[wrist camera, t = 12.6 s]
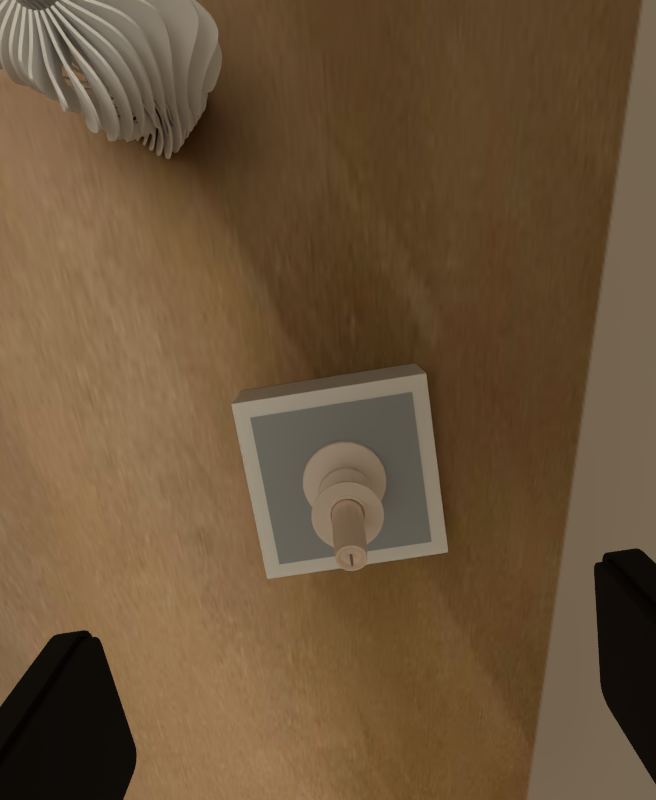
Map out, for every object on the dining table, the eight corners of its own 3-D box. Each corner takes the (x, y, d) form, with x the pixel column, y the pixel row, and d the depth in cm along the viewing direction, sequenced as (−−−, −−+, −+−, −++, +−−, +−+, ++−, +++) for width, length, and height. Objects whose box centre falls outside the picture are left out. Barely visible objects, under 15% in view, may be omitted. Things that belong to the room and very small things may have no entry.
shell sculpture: (183, 209, 34) (33, 136, 17) (74, 119, 33) (-210, -61, 16) (263, 99, 33) (190, -107, 15) (152, 1, 32) (-63, -342, 14)
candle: (377, 523, 35) (399, 625, 24) (297, 511, 34) (285, 609, 24) (392, 446, 33) (421, 519, 23) (309, 434, 33) (302, 502, 23)
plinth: (415, 363, 37) (426, 373, 32) (436, 525, 39) (448, 553, 35) (241, 391, 37) (230, 404, 33) (273, 549, 39) (267, 580, 35)
